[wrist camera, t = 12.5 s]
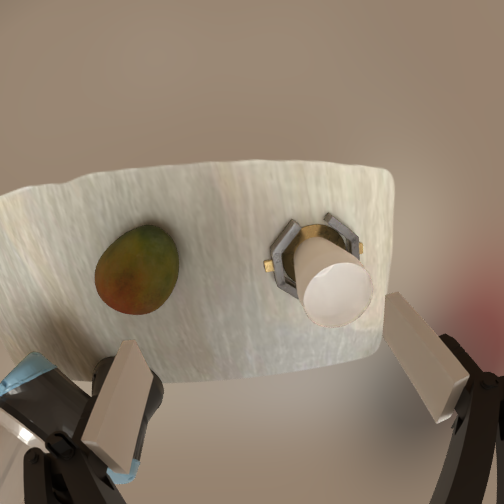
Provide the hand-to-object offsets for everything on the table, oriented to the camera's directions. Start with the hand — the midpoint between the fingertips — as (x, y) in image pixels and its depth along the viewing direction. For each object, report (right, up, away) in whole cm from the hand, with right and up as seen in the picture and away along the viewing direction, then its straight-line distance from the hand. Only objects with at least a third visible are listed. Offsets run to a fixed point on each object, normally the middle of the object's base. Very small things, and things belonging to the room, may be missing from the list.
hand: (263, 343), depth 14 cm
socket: (+9, +4, +30) cm, 31 cm away
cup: (+9, +4, +30) cm, 31 cm away
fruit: (-17, +4, +29) cm, 33 cm away
